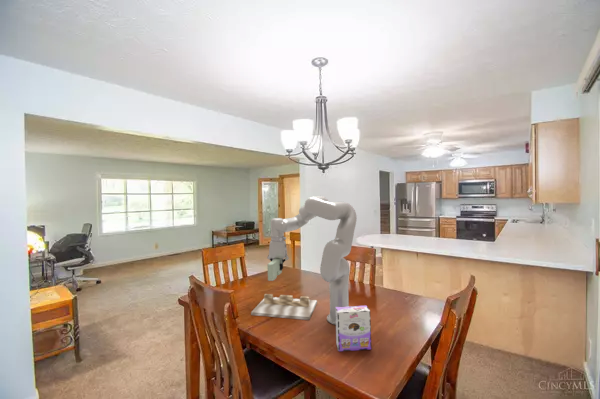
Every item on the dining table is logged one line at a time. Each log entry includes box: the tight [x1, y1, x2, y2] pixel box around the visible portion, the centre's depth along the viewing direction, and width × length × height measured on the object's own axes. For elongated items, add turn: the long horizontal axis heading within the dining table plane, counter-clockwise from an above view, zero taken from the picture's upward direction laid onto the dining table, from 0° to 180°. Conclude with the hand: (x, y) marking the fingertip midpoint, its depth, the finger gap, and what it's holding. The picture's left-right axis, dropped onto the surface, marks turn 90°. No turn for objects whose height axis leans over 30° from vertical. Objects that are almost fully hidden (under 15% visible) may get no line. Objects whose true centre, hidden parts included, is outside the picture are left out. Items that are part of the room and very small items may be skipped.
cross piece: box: [267, 258, 283, 282], centre depth 158 cm, size 16×3×9 cm, turn 166°
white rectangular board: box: [250, 293, 318, 321], centre depth 155 cm, size 32×22×6 cm
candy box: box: [335, 305, 372, 352], centre depth 115 cm, size 14×6×16 cm, turn 92°
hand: (278, 269), depth 163 cm, fingers closed on cross piece, 3 cm apart
